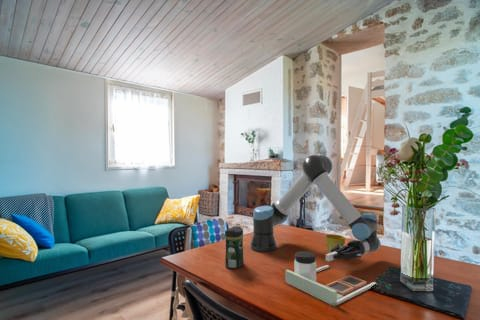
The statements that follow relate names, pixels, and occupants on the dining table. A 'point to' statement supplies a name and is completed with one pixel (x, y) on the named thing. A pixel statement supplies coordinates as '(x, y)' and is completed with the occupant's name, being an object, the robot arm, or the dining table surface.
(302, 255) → the jar
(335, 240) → the plant pot
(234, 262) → the coffee jar
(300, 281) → the pale green u-shaped frame
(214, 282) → the dining table surface
